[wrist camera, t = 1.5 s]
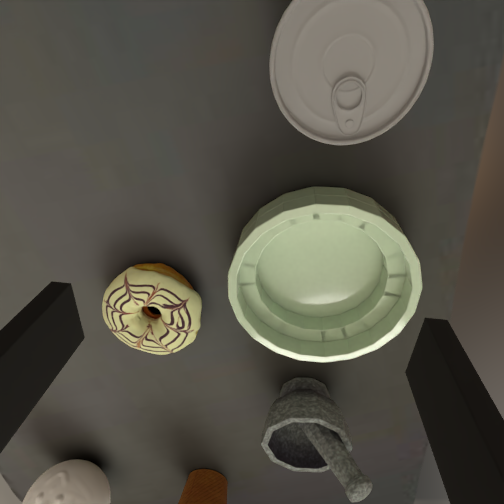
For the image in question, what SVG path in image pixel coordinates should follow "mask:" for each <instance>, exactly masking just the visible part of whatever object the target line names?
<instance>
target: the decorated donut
mask: <svg viewBox="0 0 504 504" xmlns="http://www.w3.org/2000/svg"><path fill="white" fill-rule="evenodd" d="M147 306H154V307H157V308H158V309H159V310H160V312H161V314H159V315H158V314H155V313H153V312H152V311H150V310H149V309H148V307H147ZM201 309H202V300H201V297H200V295H199V294H198V293H197V292H196V291H194V289H193V287H192V286H191V285H190V283H189V282H188V281H187V280H186V279H185V278H184V277H183V275H181V274H179V273H178V272H177V271H175V270H174V269H173V268H171V267H170V266H166V265H165V264H162V263H156V264H152V263H146V264H137V265H135V266H133V267H129V268H128V269H127V270H126V271H124V272H123V273H122V274H120V275H118V276H117V277H116V278H115V279H114V280H113V281H112V283H111V284H110V285H109V287H108V288H107V289H106V292H105V294H104V297H103V303H102V311H103V318H104V320H105V322H106V324H107V325H108V326H109V328H110V330H111V331H112V332H113V333H114V334H115V335H116V336H117V337H118V338H119V339H120V340H121V341H123V342H124V343H126V344H127V345H129V346H130V347H133V348H136V349H139V350H142V351H145V352H149V353H153V354H159V355H165V354H169V353H174V352H176V351H179V350H181V349H182V348H184V347H185V346H187V345H188V344H190V343H192V342H193V341H194V339H195V338H196V334H197V332H198V329H199V328H200V320H201Z"/></svg>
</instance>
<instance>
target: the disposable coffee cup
mask: <svg viewBox="0 0 504 504" xmlns="http://www.w3.org/2000/svg"><path fill="white" fill-rule="evenodd" d="M227 484H228V483H227V480H226V478H225V477H224V476H223V475H222V474H220V473H218V472H216V471H213V470H209V469H198V470H194V471H192V472H191V473H190V474H189V476H188V479H187V482H186V485H185V487H184V490H183V493H182V495H181V498H180V500H179V503H178V504H227Z"/></svg>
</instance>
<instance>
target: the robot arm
mask: <svg viewBox="0 0 504 504" xmlns="http://www.w3.org/2000/svg"><path fill="white" fill-rule="evenodd" d="M84 338H85V337H84V333H83V329H82V326H81V322H80V318H79V314H78V310H77V306H76V302H75V298H74V294H73V290H72V286H71V283H61V282H51V283H50V284H49V285H48V286H46V287H45V288H44V289H43V290H42V291H41V292H40V293H39V294H38V295H37V296H36V297H35V298H34V299H33V300H32V301H31V302H30V303H29V304H28V305H27V306H26V307H24V308H23V309H22V310H21V311H20V312H19V313H18V314H17V315H16V316H15V317H14V318H13V319H12V320H11V321H10V322H9V323H8V324H7V325H6V326H5V327H4V328H3V329H1V330H0V453H1V452H2V450H3V449H4V448H5V446H6V445H7V443H8V442H9V441H10V439H11V438H12V437H13V435H14V434H15V432H16V431H17V430H18V428H19V427H20V426H21V424H22V423H23V422H24V420H25V419H26V417H27V416H28V415H29V413H30V412H31V411H32V409H33V408H34V406H35V405H36V404H37V402H38V401H39V400H40V398H41V397H42V395H43V394H44V393H45V391H46V390H47V389H48V387H49V386H50V384H51V383H52V382H53V380H54V379H55V378H56V376H57V375H58V374H59V372H60V371H61V369H62V368H63V367H64V365H65V364H66V363H67V361H68V360H69V358H70V357H71V356H72V354H73V353H74V352H75V350H76V349H77V347H78V346H79V345H80V343H81V342H82V341H83V339H84ZM405 373H406V376H407V378H408V381H409V384H410V387H411V390H412V393H413V396H414V399H415V402H416V405H417V408H418V411H419V413H420V416H421V419H422V422H423V425H424V428H425V431H426V434H427V437H428V440H429V443H430V446H431V448H432V451H433V454H434V457H435V460H436V463H437V466H438V469H439V472H440V475H441V478H442V481H443V484H444V487H445V489H446V492H447V495H448V498H449V501H450V504H504V420H503V418H502V416H501V414H500V413H499V411H498V409H497V407H496V406H495V404H494V402H493V400H492V399H491V397H490V395H489V393H488V391H487V390H486V388H485V386H484V384H483V383H482V381H481V379H480V377H479V375H478V374H477V372H476V370H475V369H474V367H473V365H472V363H471V361H470V360H469V358H468V356H467V354H466V352H465V351H464V349H463V347H462V345H461V344H460V342H459V340H458V338H457V336H456V335H455V333H454V331H453V329H452V327H451V326H450V324H449V322H448V320H442V319H431V318H425V319H424V322H423V325H422V328H421V331H420V333H419V336H418V339H417V342H416V344H415V347H414V350H413V353H412V355H411V358H410V361H409V364H408V367H407V369H406V372H405Z"/></svg>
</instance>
